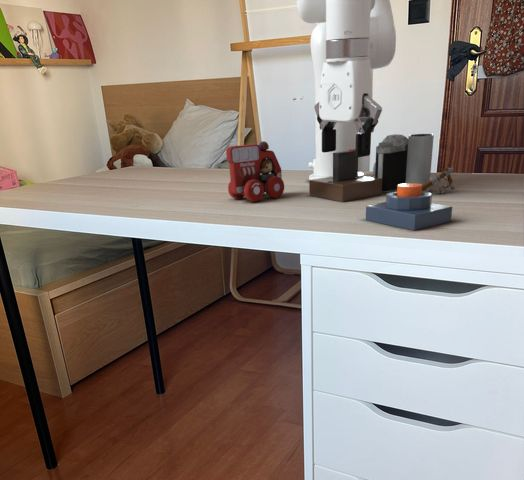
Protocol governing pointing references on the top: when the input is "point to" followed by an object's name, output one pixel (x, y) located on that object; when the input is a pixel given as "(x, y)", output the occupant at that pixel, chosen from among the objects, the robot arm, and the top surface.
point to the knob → (345, 165)
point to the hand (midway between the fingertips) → (345, 153)
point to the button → (409, 189)
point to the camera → (391, 161)
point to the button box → (409, 211)
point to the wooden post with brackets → (438, 178)
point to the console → (345, 188)
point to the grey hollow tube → (419, 158)
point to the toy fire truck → (254, 172)
